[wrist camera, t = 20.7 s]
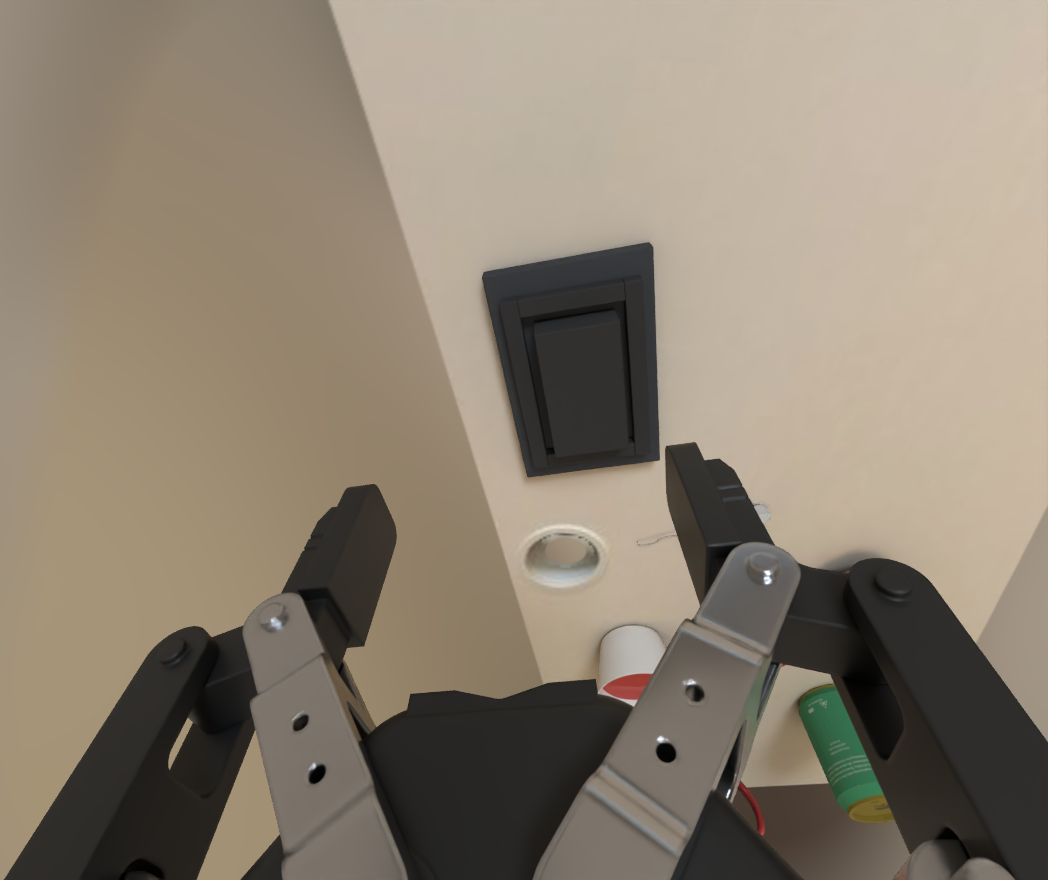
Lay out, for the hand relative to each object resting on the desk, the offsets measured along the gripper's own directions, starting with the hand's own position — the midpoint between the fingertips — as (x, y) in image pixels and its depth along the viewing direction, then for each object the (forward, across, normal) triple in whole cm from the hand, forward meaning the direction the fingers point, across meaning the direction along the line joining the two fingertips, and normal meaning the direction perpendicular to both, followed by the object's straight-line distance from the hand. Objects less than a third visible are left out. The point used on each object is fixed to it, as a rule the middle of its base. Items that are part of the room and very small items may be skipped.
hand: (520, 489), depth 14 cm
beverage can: (+23, -28, +60) cm, 70 cm away
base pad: (+23, -2, +9) cm, 25 cm away
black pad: (+22, -2, +9) cm, 24 cm away
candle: (+23, -4, +44) cm, 50 cm away
